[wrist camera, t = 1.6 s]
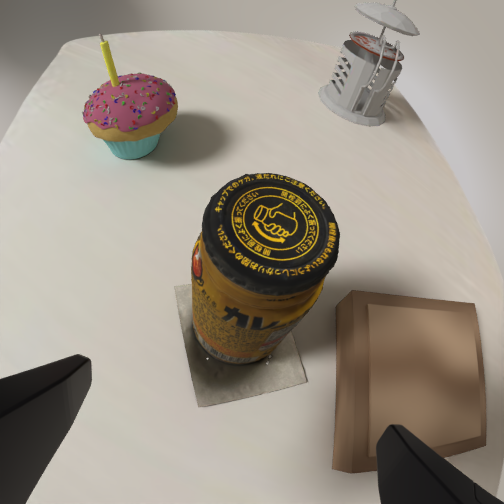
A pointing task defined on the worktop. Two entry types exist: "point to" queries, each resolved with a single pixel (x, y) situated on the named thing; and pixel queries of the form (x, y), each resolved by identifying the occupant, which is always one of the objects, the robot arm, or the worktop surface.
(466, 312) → the walnut base
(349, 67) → the french press
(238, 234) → the condiment
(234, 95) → the worktop surface
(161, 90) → the cupcake
